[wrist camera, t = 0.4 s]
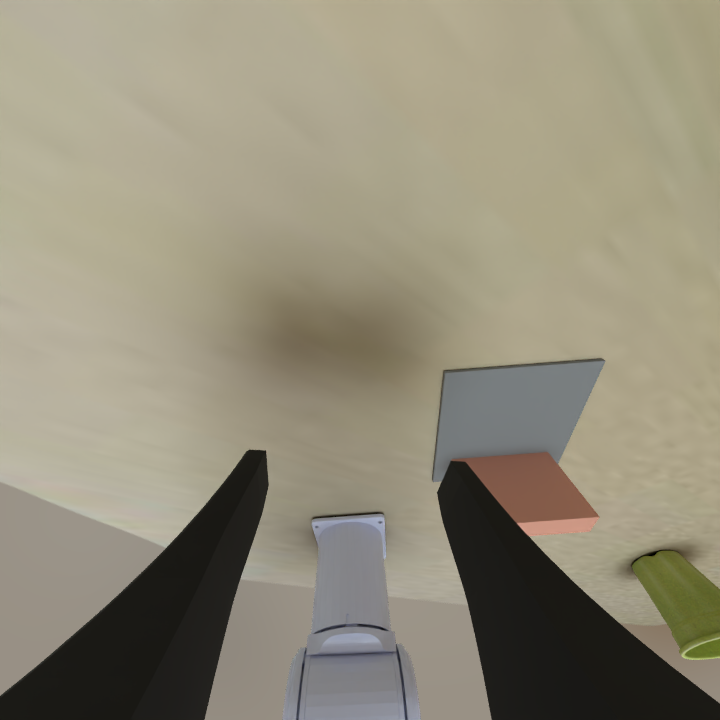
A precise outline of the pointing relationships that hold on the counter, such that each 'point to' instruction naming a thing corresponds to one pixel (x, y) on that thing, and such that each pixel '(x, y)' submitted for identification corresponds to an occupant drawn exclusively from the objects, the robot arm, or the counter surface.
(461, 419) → the mat
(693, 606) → the plant pot
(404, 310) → the counter surface
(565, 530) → the block
